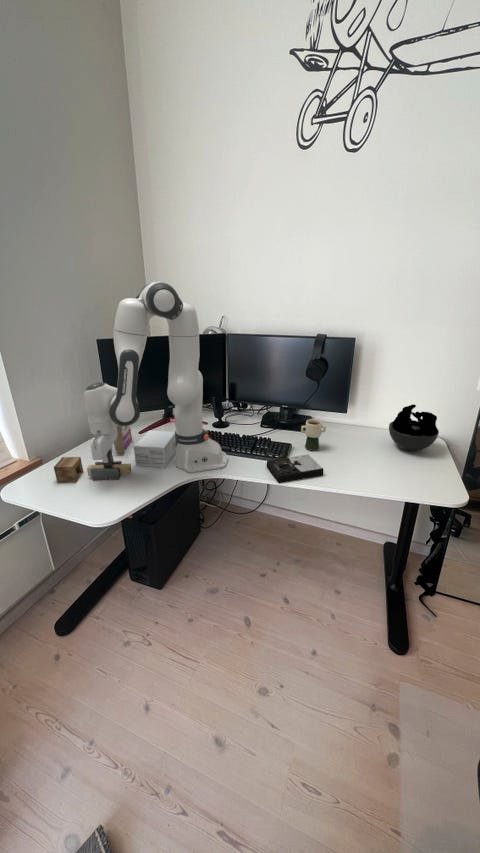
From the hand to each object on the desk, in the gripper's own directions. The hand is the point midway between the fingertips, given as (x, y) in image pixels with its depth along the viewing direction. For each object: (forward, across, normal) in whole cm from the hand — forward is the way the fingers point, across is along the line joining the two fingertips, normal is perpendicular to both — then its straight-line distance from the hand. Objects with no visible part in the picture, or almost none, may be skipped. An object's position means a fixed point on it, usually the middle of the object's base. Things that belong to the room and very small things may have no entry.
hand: (108, 459), depth 136 cm
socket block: (+8, 0, +16) cm, 17 cm away
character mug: (+8, +19, -85) cm, 87 cm away
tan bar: (+6, 0, 0) cm, 6 cm away
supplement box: (+8, +15, -16) cm, 23 cm away
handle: (+8, +19, +1) cm, 21 cm away
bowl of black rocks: (+8, +16, -129) cm, 130 cm away
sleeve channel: (+8, 0, +1) cm, 8 cm away
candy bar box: (+8, +28, +2) cm, 29 cm away
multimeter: (+8, -1, -73) cm, 73 cm away
